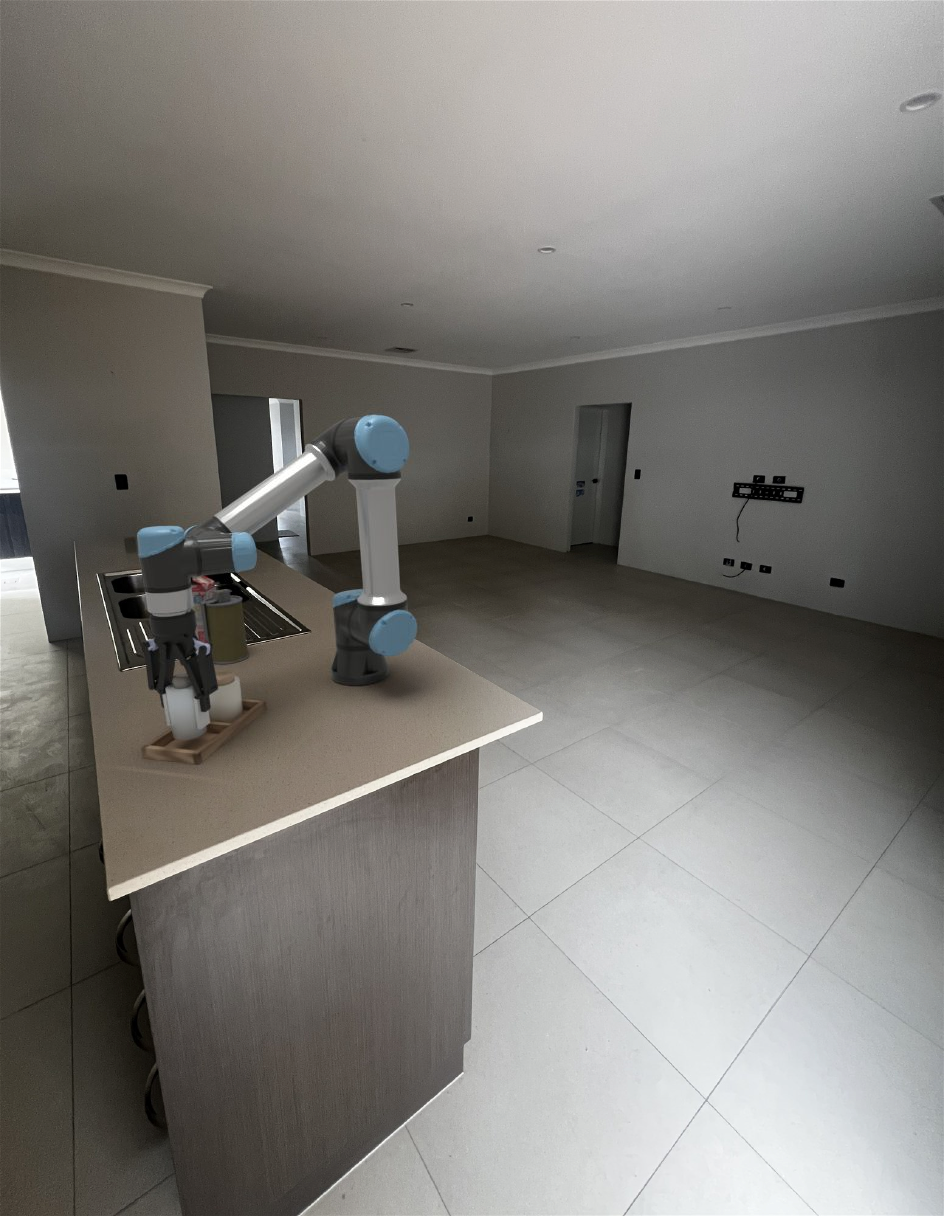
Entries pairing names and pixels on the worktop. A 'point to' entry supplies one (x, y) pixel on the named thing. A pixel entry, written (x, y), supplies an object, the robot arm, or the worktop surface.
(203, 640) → the juice carton
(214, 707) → the ceramic jar
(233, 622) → the canister
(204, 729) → the plastic bottle
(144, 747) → the caddy
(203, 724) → the robot arm
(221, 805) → the worktop surface
